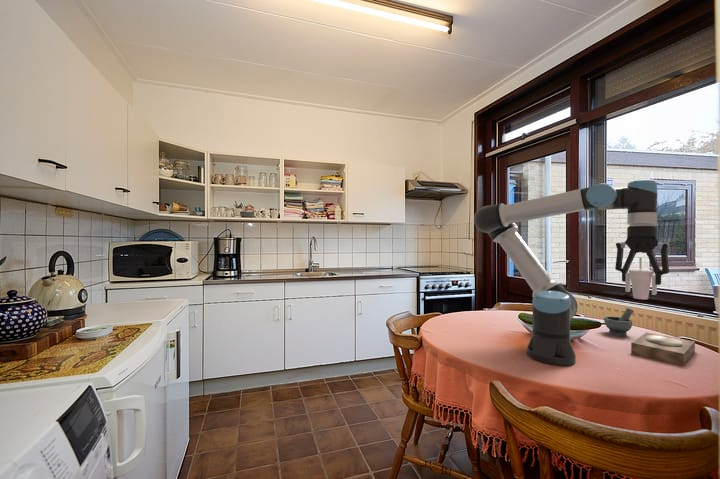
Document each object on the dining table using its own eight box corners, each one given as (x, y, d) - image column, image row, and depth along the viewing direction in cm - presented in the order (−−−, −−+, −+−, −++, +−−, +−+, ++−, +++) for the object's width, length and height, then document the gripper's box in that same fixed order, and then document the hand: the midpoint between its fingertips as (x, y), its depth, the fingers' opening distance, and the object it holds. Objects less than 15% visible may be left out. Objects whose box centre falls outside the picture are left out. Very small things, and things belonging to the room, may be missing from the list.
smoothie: (650, 297, 108) (651, 257, 108) (655, 301, 103) (655, 258, 103) (626, 296, 112) (627, 256, 112) (630, 298, 106) (630, 257, 106)
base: (631, 353, 119) (631, 340, 119) (646, 341, 132) (646, 330, 132) (683, 365, 107) (684, 350, 107) (694, 351, 120) (694, 338, 120)
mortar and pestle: (613, 337, 138) (614, 309, 138) (599, 330, 147) (599, 305, 147) (641, 338, 137) (641, 310, 137) (624, 331, 146) (625, 306, 146)
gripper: (683, 225, 102) (682, 296, 102) (610, 226, 117) (609, 288, 117) (679, 224, 97) (677, 298, 97) (603, 225, 113) (602, 290, 113)
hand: (640, 292), depth 107 cm, fingers closed on smoothie, 6 cm apart
